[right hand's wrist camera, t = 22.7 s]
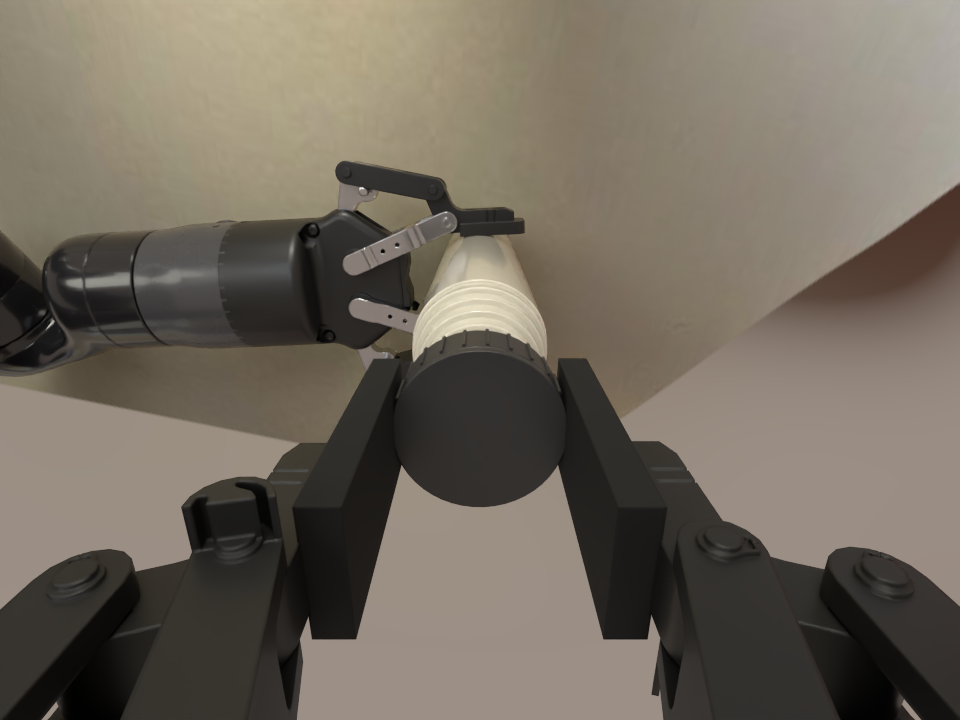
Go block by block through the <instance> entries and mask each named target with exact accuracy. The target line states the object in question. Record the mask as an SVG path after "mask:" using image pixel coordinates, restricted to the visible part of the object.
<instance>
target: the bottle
mask: <svg viewBox="0 0 960 720" xmlns="http://www.w3.org/2000/svg"><path fill="white" fill-rule="evenodd" d="M486 329H489V331H494V332H499V333H503V334H507V333H510V334H511V336H512V337H514V338H517V339H519V340H520V341H522V342H524V343H527V342H528V343H529V344H530V347H531V348H532V349H534V350H535V351H536V352H537V353H538V354H539V355H540V356H541V357H543V356H544V357H545V359H546V361H547V334H546V329H545V325H544V322H543V319H542V317H541V314H540V312H539V310H538V307H537V305H536V302H535V300H534V297H533V295H532V292H531V290H530V287H529V285H528V282H527V280H526V277H525V275H524V273H523V270H522V268H521V265H520V263H519V260H518V258H517V255H516V253H515V250H514V248H513V245H512V243H511V241H510V239H509V237H508V236H507V235H488V236H467V237H460V233H454V234H453V236H452V237H451V239H450V240H449V242H448V245H447V247H446V250H445V252H444V255H443V257H442V259H441V262H440V264H439V267H438V269H437V272H436V274H435V277H434V279H433V282H432V284H431V286H430V289H429V291H428V294H427V296H426V299H425V301H424V304H423V306H422V309H421V311H420V314H419V316H418V318H417V321H416V324H415V327H414V332H413V341H412V355H413V363H414V362H415V360H416V359H417V358H418V357H419V356H420V355H421V354H422V353H423V351H424V348H425V347H427V348H428V347H430V346H431V345H433V344H434V343H435V342H437V341H439V340H441V339H442V337H443V336H446V337H448V336H450V335H453V334H456V333H461V332H463V330H467V331H474V330H486Z"/></svg>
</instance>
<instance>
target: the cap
mask: <svg viewBox="0 0 960 720" xmlns="http://www.w3.org/2000/svg"><path fill="white" fill-rule="evenodd" d="M560 394H562V391H561V389H560V386H559V383H558V380H557V378H556V375H555V373H554V374H552V372H551V370H550V368H549V366H548V365H547V362H546V359H545V357H544V356H543V357H541V356H540V355H539V354H538V353H537V352H536V351H535V350H534V349H532V348H531V347H530V344H529V343H528V342H527V343H524V342H522V341H520V340H519V339H517V338H514V337H512V336H511V334H510V333H507V334H503V333H499V332H494V331H489V329H486V330H474V331H467V330H463V332H461V333H456V334H453V335H450V336H448V337H446V336H443V337H442V339H441V340H439V341H437V342H435V343H434V344H433V345H431V346H430V347H428V348H427V347H425V348H424V351H423V353H422V354H421V355H420V356H419V357H418V358H417V359H416V360H415V362H414V363H413V362H411V363H410V366H409V369H408V372H407V375H406V377H405V380H403V379H402V382H401V384H400V387H399V390H398V393H397V396H396V398H395V400H396V401H397V403H396V406H395V409H394V413H393V422H394V438H395V451H396V454H397V456H398V458H399V460H400V462H401V464H402V466H403V468H404V469H405V470H406V472H407V473H408V475H409V476H410V477H411V478H412V479H413V480H414V481H415V482H416V483H417V484H418V485H419V486H421V487H422V488H423V489H424V490H426V491H427V492H429V493H430V494H432V495H434V496H436V497H438V498H440V499H442V500H445V501H448V502H450V503H454V504H458V505H462V506H470V507H489V506H497V505H501V504H506V503H509V502H512V501H515V500H517V499H519V498H522V497H524V496H526V495H527V494H529V493H531V492H532V491H534V490H535V489H536V488H538V487H539V486H540V485H542V484H543V483H544V482H545V481H546V480H547V479H548V478H549V476H550V475H551V474H552V473H553V471H554V470H555V469H556V467H557V465H558V463H559V462H560V460H561V458H562V455H563V453H564V447H565V432H566V410H565V407H564V404H563V401H562V399H561V396H560Z"/></svg>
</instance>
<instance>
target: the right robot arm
mask: <svg viewBox="0 0 960 720" xmlns="http://www.w3.org/2000/svg"><path fill="white" fill-rule="evenodd" d="M557 380H558V383H559V386H560V389H561V391H562V394H560V396H561V399H562V401H563V404H564V407H565V410H566V432H565V447H564V453H563V455H562V458H561V460H560V462H559V463H558V466H559V470H560V474H561V478H562V482H563V485H564V489H565V493H566V497H567V501H568V505H569V508H570V512H571V516H572V520H573V524H574V528H575V532H576V535H577V539H578V543H579V547H580V551H581V555H582V558H583V562H584V566H585V570H586V574H587V578H588V581H589V585H590V589H591V593H592V597H593V601H594V605H595V608H596V612H597V616H598V620H599V624H600V628H601V631H602V635H603V639H648V633H649V626H650V619H651V615H652V617H653V620H654V622H655V625H656V628H657V630H658V633H659V636H660V644H659V650H658V656H657V663H656V669H655V675H654V681H653V688H652V695H656V696H659V691H660V692H661V701H662V710H663V719H664V720H915V719H914V718H913V717H912V716H911V715H910V714H909V713H908V712H907V711H906V709H905V708H904V707H903V706H902V703H903V700H904V699H905V700H906V702H907V703H908V704H909V705H910V706H911V708H912V709H913V710H914V711H915V713H916V714H917V715H918V716H919V717H920V719H921V720H960V606H958V605H957V604H956V603H955V602H954V601H953V600H952V599H951V598H950V597H948V596H947V595H946V594H945V593H944V592H943V591H942V590H941V589H939V588H938V587H937V586H936V585H935V584H934V583H933V582H932V581H931V580H930V579H928V578H927V577H926V576H924V575H923V574H922V573H920V572H919V571H917V570H916V569H915V568H913V567H912V566H911V565H909V564H907V563H905V562H903V561H901V560H898V559H896V558H894V557H893V556H891V555H888V554H885V553H882V552H878V551H875V550H871V549H866V548H857V547H846V548H841V549H836V550H835V551H834V552H833V553H831V554H830V555H829V556H828V560H827V563H826V567H825V569H820V568H815V567H811V566H806V565H801V564H797V563H792V562H788V561H784V560H780V559H777V558H773V557H770V555H769V553H768V551H767V549H766V548H765V547H764V545H763V544H762V542H761V541H760V540H759V539H758V538H756V537H755V536H754V535H752V534H751V533H750V532H748V531H747V530H745V529H743V528H741V527H739V526H737V525H734V524H732V523H729V522H725V521H722V519H721V518H720V516H719V515H718V513H717V512H716V510H715V509H714V507H713V506H712V504H711V503H710V502H709V500H708V499H707V497H706V496H705V494H704V493H703V491H702V490H701V488H700V487H699V485H698V484H697V483H695V480H694V478H693V477H692V475H691V474H690V472H689V471H687V469H686V466H685V465H684V463H683V462H682V460H681V459H680V458H679V456H678V455H677V453H675V452H674V451H672V450H671V449H669V448H668V447H667V446H665V445H664V444H662V443H661V442H659V441H631V440H630V438H629V436H628V434H627V432H626V431H625V429H624V427H623V425H622V423H621V421H620V419H619V418H618V416H617V414H616V412H615V410H614V408H613V407H612V405H611V403H610V401H609V399H608V398H607V396H606V394H605V392H604V390H603V388H602V387H601V385H600V383H599V381H598V379H597V377H596V376H595V374H594V372H593V370H592V368H591V367H590V365H589V363H588V361H587V359H558V373H557ZM401 382H402V362H401V359H373V360H372V362H371V364H370V366H369V368H368V369H367V371H366V373H365V375H364V377H363V379H362V380H361V382H360V384H359V386H358V388H357V389H356V391H355V393H354V395H353V397H352V399H351V400H350V402H349V404H348V406H347V408H346V410H345V411H344V413H343V415H342V417H341V419H340V420H339V422H338V424H337V426H336V428H335V430H334V431H333V433H332V435H331V437H330V439H329V441H328V442H327V443H300V444H299V445H297V446H296V447H294V448H293V449H291V450H290V451H289V452H287V453H286V454H284V455H283V456H282V458H281V459H280V461H279V462H278V463H277V465H276V466H275V468H274V469H273V472H272V473H271V474H270V475H269V477H268V478H267V480H265V479H261V478H258V477H236V478H231V479H226V480H222V481H219V482H216V483H214V484H211V485H209V486H206V487H204V488H202V489H201V490H199V491H198V492H196V493H195V494H193V495H192V496H190V497H189V498H188V500H187V501H186V502H185V503H184V504H183V505H182V507H181V508H182V512H183V516H184V520H185V525H186V529H187V533H188V537H189V541H190V545H191V549H192V554H191V556H190V558H189V559H188V560H184V561H181V562H177V563H173V564H169V565H164V566H160V567H155V568H150V569H146V570H141V571H137V572H135V568H134V565H133V562H132V559H131V558H130V557H129V556H128V555H127V554H126V553H125V552H123V551H117V550H112V549H107V550H98V551H90V552H87V553H83V554H81V555H77V556H74V557H71V558H69V559H67V560H65V561H63V562H61V563H59V564H57V565H55V566H53V567H50V568H49V569H48V570H46V571H45V572H44V573H42V574H41V575H39V576H38V577H37V578H35V579H34V580H33V581H31V582H30V583H29V584H28V585H27V586H26V587H25V588H24V589H23V590H21V591H20V592H19V593H18V594H17V595H16V596H15V597H14V598H13V599H11V600H10V601H9V602H8V603H7V604H6V605H5V606H4V607H3V608H2V609H0V720H42V718H43V717H44V716H45V715H46V714H47V712H48V711H49V710H50V709H51V707H52V706H53V705H54V704H55V702H57V704H58V708H57V709H56V711H55V712H54V713H53V714H52V716H51V717H50V718H49V719H48V720H297V711H298V702H299V694H300V684H301V675H302V667H303V658H302V650H301V644H300V637H301V634H302V632H303V629H304V627H305V624H306V621H307V619H308V616H309V622H310V629H311V635H312V639H356V638H357V634H358V630H359V626H360V622H361V618H362V614H363V611H364V607H365V603H366V599H367V595H368V592H369V588H370V584H371V580H372V576H373V572H374V568H375V565H376V561H377V557H378V553H379V549H380V545H381V542H382V538H383V534H384V530H385V526H386V522H387V518H388V515H389V511H390V507H391V503H392V499H393V495H394V491H395V488H396V484H397V480H398V476H399V472H400V468H401V465H402V464H401V462H400V460H399V458H398V456H397V454H396V451H395V438H394V422H393V413H394V409H395V406H396V403H397V401H396V400H395V398H396V396H397V393H398V390H399V387H400V384H401Z"/></svg>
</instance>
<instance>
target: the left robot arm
mask: <svg viewBox="0 0 960 720" xmlns="http://www.w3.org/2000/svg"><path fill="white" fill-rule="evenodd" d="M335 172H336V177H337V179H338V180H339V181H340V189H339V200H338V209H336V210H334V211H332V212H330V213H329V214H328V215H326V216H324V217H320V218H305V219H285V220H265V221H245V222H237V221H219V222H217V223H204V224H193V225H187V226H181V227H177V228H172V229H165V230H149V231H129V232H111V233H96V234H86V235H80V236H76V237H73V238H70V239H67V240H65V241H63V242H61V243H60V244H58V245H57V246H56V247H55V248H54V249H53V250H52V251H51V252H50V254H49V255H48V257H47V259H46V261H45V264H44V267H43V271H41V270H40V269H39V268H38V267H37V266H36V265H35V264H34V263H33V262H32V261H31V260H30V259H29V258H28V257H27V256H26V255H25V254H24V253H23V252H22V251H21V250H20V249H19V248H18V247H17V246H16V245H15V244H14V243H13V242H12V241H11V240H10V239H9V238H8V237H7V236H6V235H5V234H4V233H3V232H2V231H0V376H11V377H18V376H28V375H34V374H38V373H41V372H45V371H48V370H51V369H54V368H57V367H60V366H63V365H66V364H69V363H73V362H76V361H79V360H83V359H86V358H89V357H92V356H95V355H98V354H100V353H103V352H107V351H110V350H113V349H116V348H149V347H171V346H187V347H198V348H240V347H262V346H283V345H306V344H325V343H339V344H343V345H345V346H348V347H350V348H352V349H357V350H358V353H359V355H360V358H361V360H362V363H363V365H364V368H365V370H366V371H367V369H368V368H369V366H370V364H371V362H372V360H373V359H401V362H402V379H403V380H405V377H406V375H407V372H408V369H409V366H410V363H411V362H413V355H412V349H411V350H408V351H404V352H400V353H396V352H395V350H393V349H392V348H380V347H378V346H377V345H376V344H375V343H374V342H376V341H377V340H378V339H379V338H381V337H382V336H383V335H384V334H385V333H387V332H388V331H389V330H390V329H392V328H396V329H399V330H403V331H406V332H409V333H413V332H414V327H415V324H416V321H417V318H418V316H419V314H420V311H421V309H422V306H423V304H424V301H423V300H420V299H416V298H414V288H413V285H412V282H411V279H410V276H409V271H410V265H411V256H410V251H412V250H414V249H417V248H419V247H420V246H422V245H424V244H426V243H428V242H431V241H433V240H435V239H437V238H440V237H442V236H444V235H446V234H449V233H460V237H467V236H488V235H508V234H522V233H525V226H524V219H523V218H514V212H513V210H511V209H508V208H505V207H494V208H473V209H461V208H458V207H456V206H455V205H454V204H453V202H452V201H451V198H450V196H449V194H448V191H447V188H446V184H445V182H444V181H443V180H442V179H441V178H438V177H433V176H428V175H423V174H418V173H413V172H408V171H403V170H398V169H393V168H388V167H383V166H378V165H373V164H368V163H363V162H358V161H342V162H340V163H339V164H338V165H337V167H336V171H335ZM379 191H383V192H388V193H393V194H398V195H403V196H408V197H413V198H418V199H424V200H426V201H427V203H428V205H429V208H430V210H431V212H432V215H430V216H428V217H426V218H423V219H421V220H419V221H416V222H414V223H411V224H409V225H407V226H405V227H402V228H400V229H398V230H396V231H393V232H390V231H389V230H387V229H385V228H384V227H382V226H381V225H379V224H378V223H376V222H375V221H373V220H371V219H370V218H368V217H367V216H365V215H364V214H362V213H361V212H359V211H358V210H357V208H358V206H359V204H360V203H361V202H369V201H372V200H374V199H376V198H377V196H378V194H379ZM411 307H413V308H411ZM404 319H406V320H407V321H405V320H404Z"/></svg>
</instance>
